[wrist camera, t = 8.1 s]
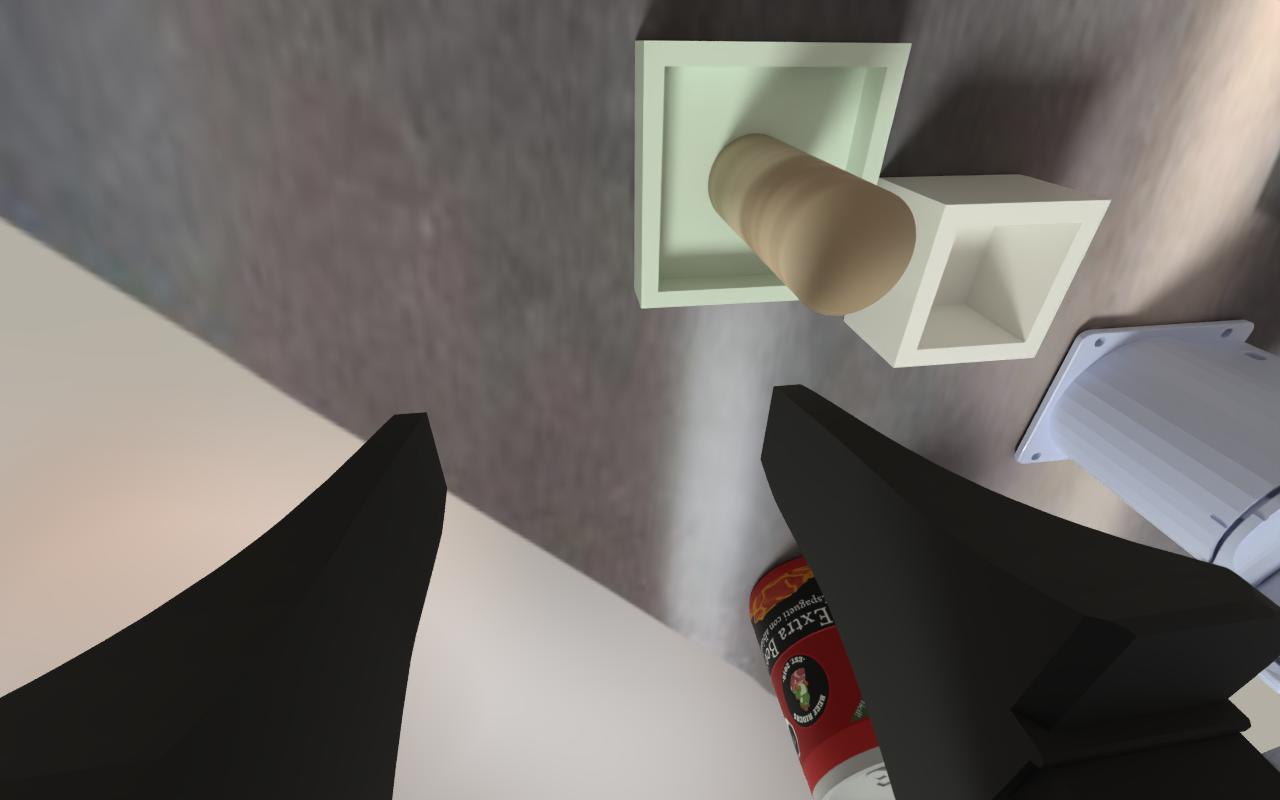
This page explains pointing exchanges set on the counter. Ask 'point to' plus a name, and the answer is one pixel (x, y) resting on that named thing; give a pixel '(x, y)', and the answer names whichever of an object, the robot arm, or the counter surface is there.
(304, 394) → the counter surface
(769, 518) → the counter surface
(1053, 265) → the white open box
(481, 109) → the counter surface
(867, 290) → the dowel
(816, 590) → the canned food
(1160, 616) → the robot arm
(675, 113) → the tray
